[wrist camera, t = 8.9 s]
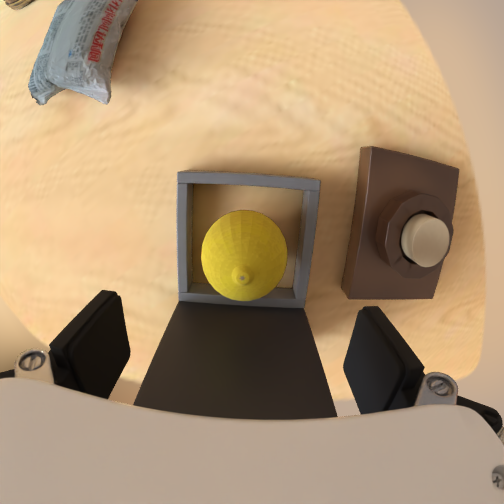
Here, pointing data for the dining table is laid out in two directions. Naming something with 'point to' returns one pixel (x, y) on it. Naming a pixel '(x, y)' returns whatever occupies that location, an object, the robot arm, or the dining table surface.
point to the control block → (395, 223)
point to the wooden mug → (17, 3)
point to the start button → (425, 240)
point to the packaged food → (80, 49)
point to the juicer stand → (239, 331)
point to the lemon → (244, 255)
